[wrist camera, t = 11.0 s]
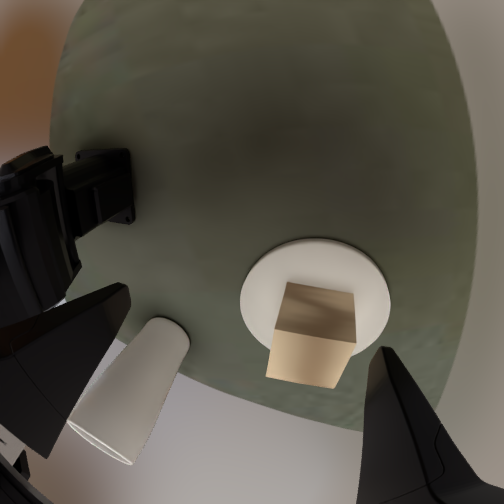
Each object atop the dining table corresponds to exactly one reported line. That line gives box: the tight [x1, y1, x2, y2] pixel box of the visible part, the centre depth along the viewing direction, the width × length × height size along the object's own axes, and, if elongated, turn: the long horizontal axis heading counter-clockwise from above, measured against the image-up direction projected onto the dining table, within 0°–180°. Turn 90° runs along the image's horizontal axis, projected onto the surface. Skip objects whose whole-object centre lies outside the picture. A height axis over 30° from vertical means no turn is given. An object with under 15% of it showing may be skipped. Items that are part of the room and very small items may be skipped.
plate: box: [240, 238, 390, 357], centre depth 21 cm, size 12×12×1 cm
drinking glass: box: [67, 317, 190, 465], centre depth 22 cm, size 7×7×15 cm
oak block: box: [266, 282, 357, 388], centre depth 18 cm, size 5×5×5 cm
